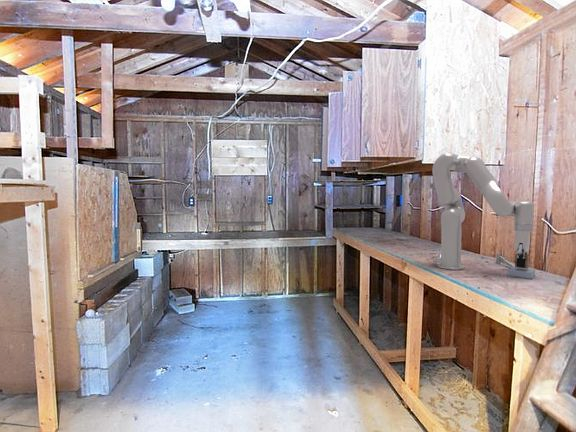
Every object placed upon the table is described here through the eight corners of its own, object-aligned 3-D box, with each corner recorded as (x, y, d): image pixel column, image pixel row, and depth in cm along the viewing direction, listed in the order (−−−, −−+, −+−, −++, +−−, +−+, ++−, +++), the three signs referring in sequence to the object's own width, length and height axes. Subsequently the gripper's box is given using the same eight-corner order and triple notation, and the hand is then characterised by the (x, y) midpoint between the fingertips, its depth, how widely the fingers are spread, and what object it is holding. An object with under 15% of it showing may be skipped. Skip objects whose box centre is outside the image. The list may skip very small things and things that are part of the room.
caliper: (495, 263, 194) (496, 252, 194) (497, 263, 194) (498, 252, 194) (518, 272, 174) (519, 259, 173) (521, 272, 174) (521, 259, 173)
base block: (507, 276, 165) (507, 269, 164) (511, 272, 171) (511, 266, 171) (531, 279, 158) (532, 272, 158) (534, 275, 165) (535, 269, 165)
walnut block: (514, 267, 164) (515, 254, 164) (516, 265, 168) (517, 253, 168) (527, 268, 161) (528, 255, 161) (529, 266, 165) (529, 254, 164)
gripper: (517, 225, 172) (516, 262, 173) (510, 228, 160) (508, 267, 161) (535, 226, 167) (534, 264, 168) (530, 229, 154) (528, 270, 156)
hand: (522, 265), depth 164 cm, fingers closed on walnut block, 5 cm apart
